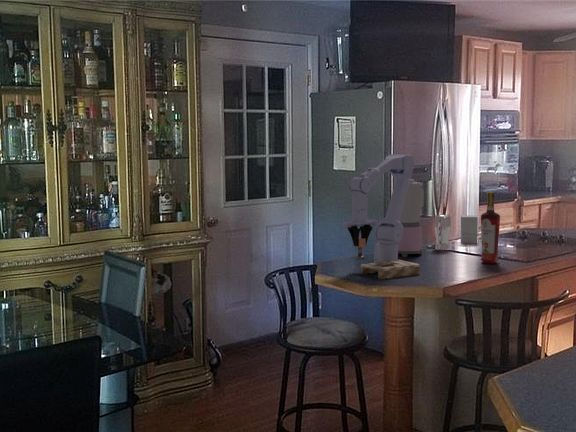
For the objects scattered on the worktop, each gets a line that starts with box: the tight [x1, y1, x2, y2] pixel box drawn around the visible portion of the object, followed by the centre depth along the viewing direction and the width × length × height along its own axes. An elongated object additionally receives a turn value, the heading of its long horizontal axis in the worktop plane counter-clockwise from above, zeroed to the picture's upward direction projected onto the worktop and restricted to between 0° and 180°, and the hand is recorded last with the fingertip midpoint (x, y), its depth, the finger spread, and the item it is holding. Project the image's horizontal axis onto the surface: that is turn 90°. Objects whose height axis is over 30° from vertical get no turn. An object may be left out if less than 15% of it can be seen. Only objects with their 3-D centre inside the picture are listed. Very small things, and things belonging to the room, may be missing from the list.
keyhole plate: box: [360, 259, 421, 280], centre depth 260 cm, size 18×12×4 cm, turn 119°
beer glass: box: [434, 214, 452, 251], centre depth 313 cm, size 7×7×15 cm
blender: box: [398, 178, 426, 258], centre depth 301 cm, size 16×12×32 cm
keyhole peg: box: [353, 236, 367, 261], centre depth 265 cm, size 4×4×8 cm
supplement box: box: [460, 214, 479, 244], centre depth 332 cm, size 7×7×13 cm
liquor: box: [480, 191, 501, 265], centre depth 277 cm, size 7×7×28 cm
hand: (360, 245), depth 264 cm, fingers closed on keyhole peg, 3 cm apart
